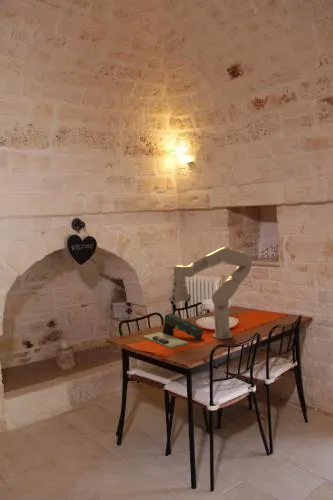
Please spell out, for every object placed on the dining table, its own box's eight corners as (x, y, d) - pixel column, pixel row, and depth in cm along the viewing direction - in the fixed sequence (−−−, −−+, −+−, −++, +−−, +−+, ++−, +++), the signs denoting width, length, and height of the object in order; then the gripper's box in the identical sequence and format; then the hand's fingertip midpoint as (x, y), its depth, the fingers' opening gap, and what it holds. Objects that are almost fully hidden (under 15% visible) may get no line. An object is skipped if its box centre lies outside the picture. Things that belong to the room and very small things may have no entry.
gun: (167, 329, 335) (171, 310, 331) (200, 348, 318) (204, 328, 314) (161, 332, 330) (165, 312, 326) (194, 351, 313) (199, 330, 309)
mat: (188, 343, 304) (188, 342, 304) (170, 348, 297) (170, 346, 297) (160, 333, 333) (160, 332, 333) (142, 337, 326) (142, 335, 326)
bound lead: (169, 342, 306) (169, 340, 305) (164, 344, 304) (164, 341, 303) (156, 338, 318) (156, 335, 318) (152, 339, 316) (152, 336, 316)
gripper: (171, 286, 312) (172, 312, 313) (193, 283, 321) (194, 308, 322) (165, 284, 318) (166, 310, 319) (187, 281, 327) (187, 306, 329)
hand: (180, 309), depth 321 cm, fingers open, 9 cm apart
